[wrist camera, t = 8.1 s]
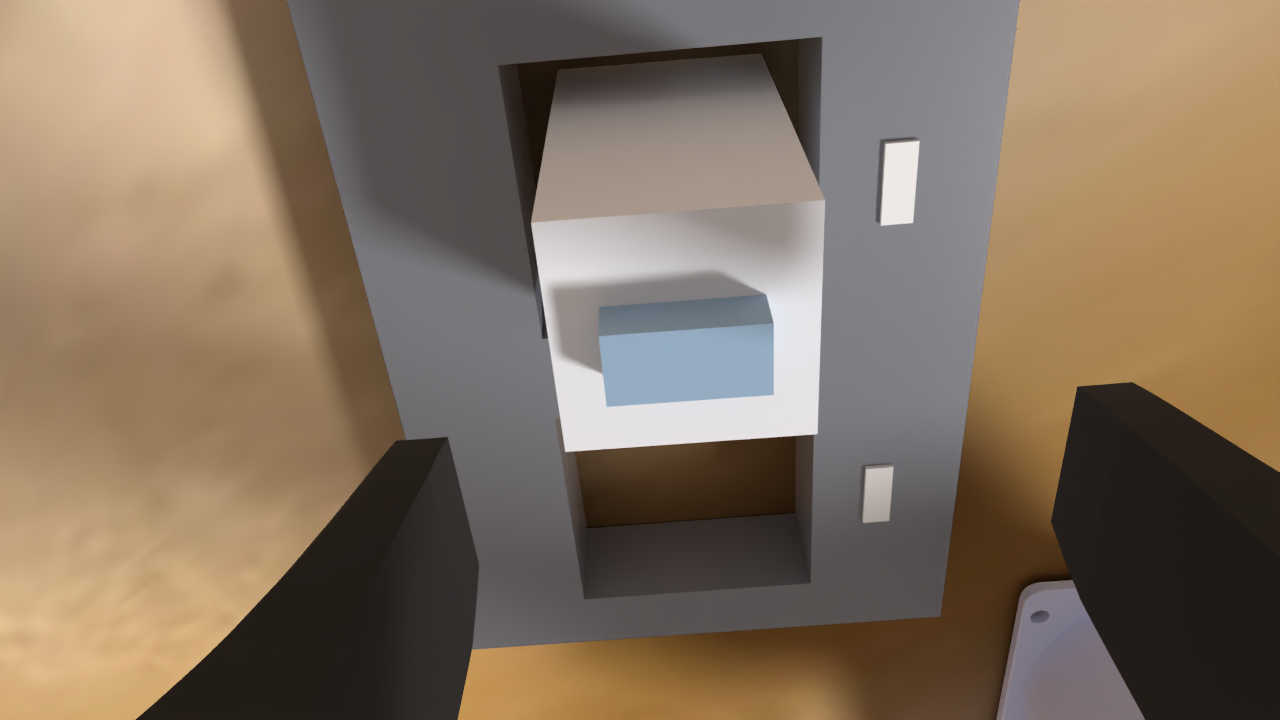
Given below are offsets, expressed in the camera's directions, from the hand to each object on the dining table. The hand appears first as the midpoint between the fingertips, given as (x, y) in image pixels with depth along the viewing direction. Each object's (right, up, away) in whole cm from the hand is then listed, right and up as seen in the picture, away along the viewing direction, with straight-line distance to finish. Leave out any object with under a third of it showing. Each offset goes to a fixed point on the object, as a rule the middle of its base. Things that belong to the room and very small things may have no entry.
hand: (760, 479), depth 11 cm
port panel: (-1, +3, +11) cm, 11 cm away
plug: (-1, +6, +9) cm, 10 cm away
